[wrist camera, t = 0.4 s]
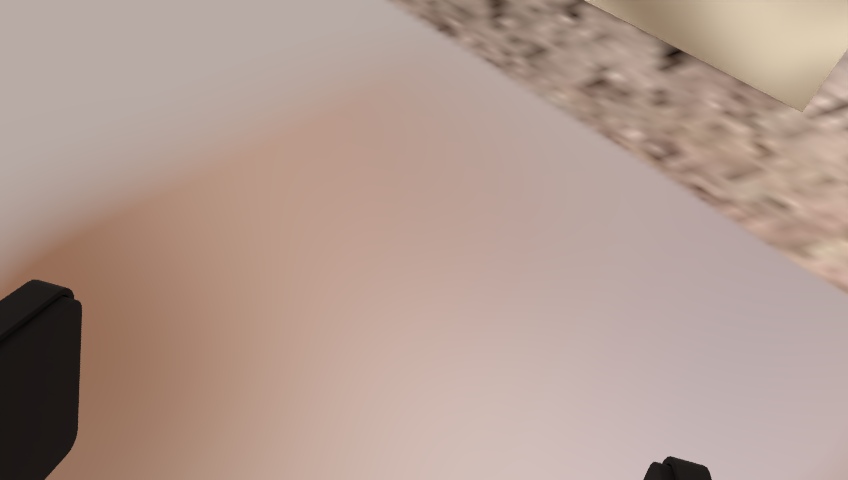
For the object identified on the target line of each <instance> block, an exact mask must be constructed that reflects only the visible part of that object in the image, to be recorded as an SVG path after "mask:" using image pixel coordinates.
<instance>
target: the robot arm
mask: <svg viewBox="0 0 848 480" xmlns="http://www.w3.org/2000/svg"><path fill="white" fill-rule="evenodd" d="M81 321H82V305H81V303H80V302H79V301H78V300H75V299H74V295H73V292H72V291H71V290H70V289H68V288H65V287H62V286H58V285H55V284H51V283H47V282H44V281H40V280H31V281H29V282H27V283H26V284H24V285H23V286H21V287H20V288H18V289H17V290H16V291H14V292H12V293H11V294H10V295H8V296H7V297H5V298H4V299H2V300H1V301H0V480H45V478H46V477H47V476H48V475H49V474H50V473H51V472H52V471H53V470H54V469H55V467H56V466H57V465H58V464H59V463H60V462H61V461H62V460H63V458H64V457H65V456H66V455H67V454H68V453H69V451H70V450H71V448H72V446H73V444H74V442H75V439H76V436H77V431H78V407H79V379H80V378H79V377H80V350H81V323H82V322H81ZM644 480H712V479H711V476H710V472H709V470H708V468H707V467H705V466H703V465H700V464H696V463H693V462H689V461H685V460H682V459H678V458H675V457H671V456H670V457H667V458H666V459H665V460H664V461H663V463H662V464H661V463H658V462H653V463H652V464H651V465H650V467H649V469H648V471H647V473H646V475H645V477H644Z"/></svg>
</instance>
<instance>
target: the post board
mask: <svg viewBox="0 0 848 480" xmlns="http://www.w3.org/2000/svg"><path fill="white" fill-rule="evenodd" d="M585 1H586V2H588V3H590V4H592V5H594V6H596V7H598V8H600V9H602V10H604V11H606V12H608V13H610V14H612V15H614V16H616V17H618V18H620V19H621V20H623V21H625V22H627V23H629V24H631V25H633V26H635V27H637V28H639V29H641V30H643V31H645V32H647V33H649V34H651V35H653V36H655V37H657V38H658V39H660V40H662V41H664V42H666V43H668V44H670V45H672V46H674V47H676V48H678V49H680V50H682V51H684V52H686V53H688V54H690V55H692V56H693V57H695V58H697V59H699V60H701V61H703V62H705V63H707V64H709V65H711V66H713V67H715V68H717V69H719V70H721V71H723V72H725V73H727V74H728V75H730V76H732V77H734V78H736V79H738V80H740V81H742V82H744V83H746V84H748V85H750V86H752V87H754V88H756V89H758V90H760V91H762V92H763V93H765V94H767V95H769V96H771V97H773V98H775V99H777V100H779V101H781V102H783V103H785V104H787V105H789V106H791V107H793V108H795V109H797V110H799V111H800V112H803V110H804V109H805V107H806V106H807V105H808V103H809V102H810V100H811V99H812V98H813V96H814V95H815V93H816V92H817V91H818V89H819V88H820V86H821V85H822V84H823V82H824V81H825V79H826V78H827V77H828V75H829V74H830V72H831V71H832V70H833V68H834V67H835V65H836V64H837V63H838V61H839V60H840V58H841V57H842V56H843V54H844V53H845V51H846V50H847V49H848V0H585Z"/></svg>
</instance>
